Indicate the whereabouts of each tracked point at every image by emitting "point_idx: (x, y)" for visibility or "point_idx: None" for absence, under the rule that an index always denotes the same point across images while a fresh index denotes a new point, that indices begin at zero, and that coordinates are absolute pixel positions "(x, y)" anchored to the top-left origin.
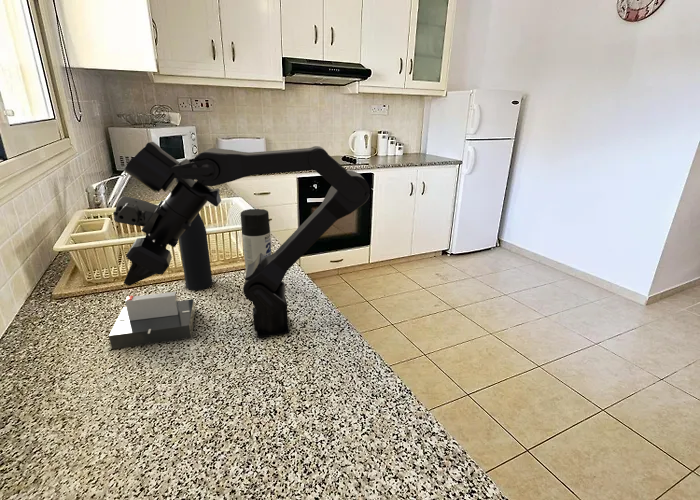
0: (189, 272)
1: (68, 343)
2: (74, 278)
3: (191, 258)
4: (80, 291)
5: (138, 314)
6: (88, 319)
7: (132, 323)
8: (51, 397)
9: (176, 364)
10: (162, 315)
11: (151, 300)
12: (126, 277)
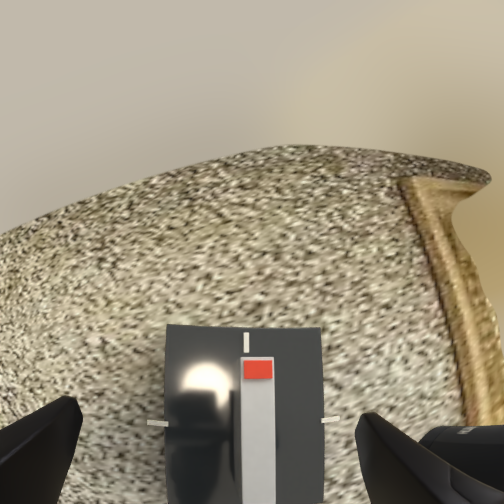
0: (448, 454)
1: (227, 237)
2: (457, 197)
3: (476, 469)
4: (424, 213)
5: (234, 389)
6: (322, 251)
7: (216, 373)
8: (59, 257)
9: (78, 461)
10: (234, 449)
11: (240, 438)
12: (30, 415)
